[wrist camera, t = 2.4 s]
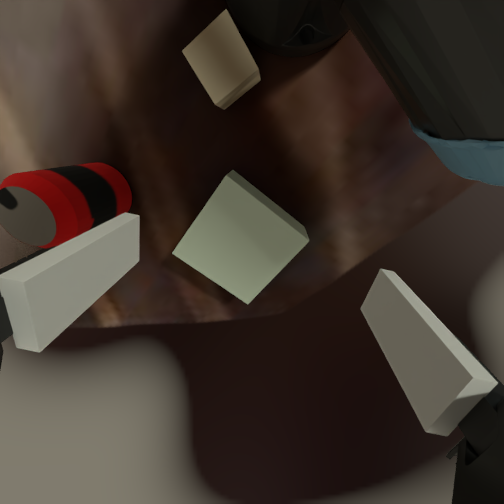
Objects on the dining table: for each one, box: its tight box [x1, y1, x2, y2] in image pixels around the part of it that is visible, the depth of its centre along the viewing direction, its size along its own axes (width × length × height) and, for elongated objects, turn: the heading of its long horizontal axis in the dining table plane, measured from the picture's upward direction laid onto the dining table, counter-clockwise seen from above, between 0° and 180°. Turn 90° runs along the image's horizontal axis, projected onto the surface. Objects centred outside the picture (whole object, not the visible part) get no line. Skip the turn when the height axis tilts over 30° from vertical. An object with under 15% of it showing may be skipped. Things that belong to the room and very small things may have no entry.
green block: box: [172, 170, 309, 304], centre depth 32 cm, size 12×12×5 cm
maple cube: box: [182, 9, 261, 110], centre depth 24 cm, size 5×5×5 cm
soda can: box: [0, 162, 132, 249], centre depth 28 cm, size 8×8×12 cm
